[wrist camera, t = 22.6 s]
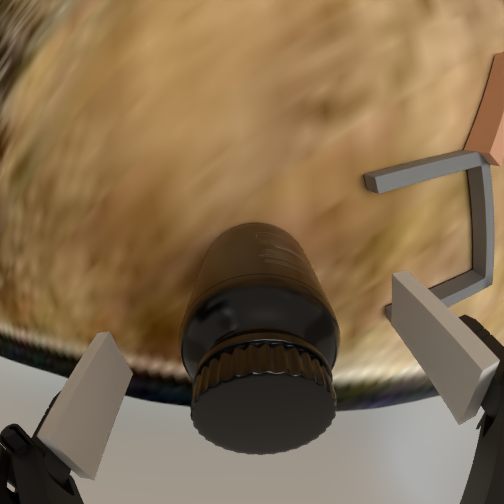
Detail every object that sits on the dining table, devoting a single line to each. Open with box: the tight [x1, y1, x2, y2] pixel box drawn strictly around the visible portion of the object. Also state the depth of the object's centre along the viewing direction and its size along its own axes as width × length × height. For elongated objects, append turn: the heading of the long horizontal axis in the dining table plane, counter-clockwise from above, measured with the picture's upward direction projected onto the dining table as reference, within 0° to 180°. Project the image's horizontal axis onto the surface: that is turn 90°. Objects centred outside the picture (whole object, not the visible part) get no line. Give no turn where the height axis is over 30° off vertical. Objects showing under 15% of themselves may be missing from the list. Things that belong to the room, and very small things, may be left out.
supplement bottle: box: [179, 223, 340, 455], centre depth 14 cm, size 7×7×12 cm
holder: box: [364, 52, 504, 322], centre depth 16 cm, size 19×18×3 cm
